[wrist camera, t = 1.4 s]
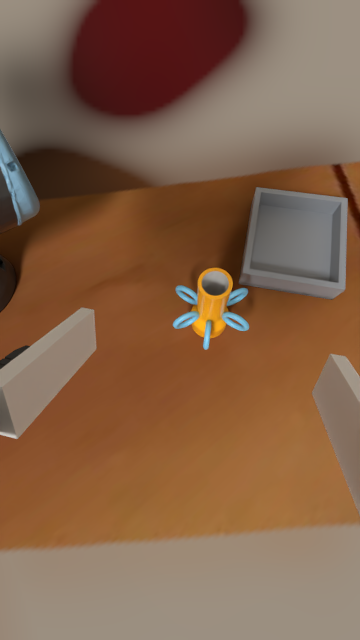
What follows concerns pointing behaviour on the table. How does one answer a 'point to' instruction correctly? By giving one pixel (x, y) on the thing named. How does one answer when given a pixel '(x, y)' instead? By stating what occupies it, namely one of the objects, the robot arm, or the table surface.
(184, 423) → the table surface
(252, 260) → the tray
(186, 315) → the cylinder
